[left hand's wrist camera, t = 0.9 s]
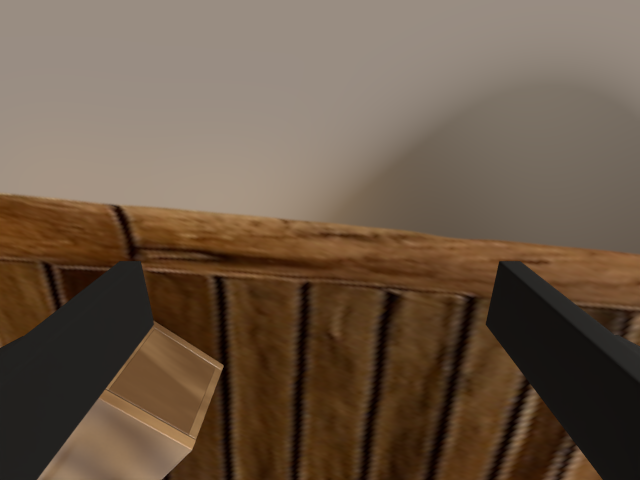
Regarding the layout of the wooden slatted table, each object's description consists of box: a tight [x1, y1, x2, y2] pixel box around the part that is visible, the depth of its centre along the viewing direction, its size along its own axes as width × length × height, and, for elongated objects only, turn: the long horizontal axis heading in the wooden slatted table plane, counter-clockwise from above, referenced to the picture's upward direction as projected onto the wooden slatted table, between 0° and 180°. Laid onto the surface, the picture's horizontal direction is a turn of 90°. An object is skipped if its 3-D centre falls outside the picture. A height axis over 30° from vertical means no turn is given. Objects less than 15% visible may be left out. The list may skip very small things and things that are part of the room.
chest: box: [105, 321, 224, 440], centre depth 35 cm, size 16×9×9 cm, turn 139°
